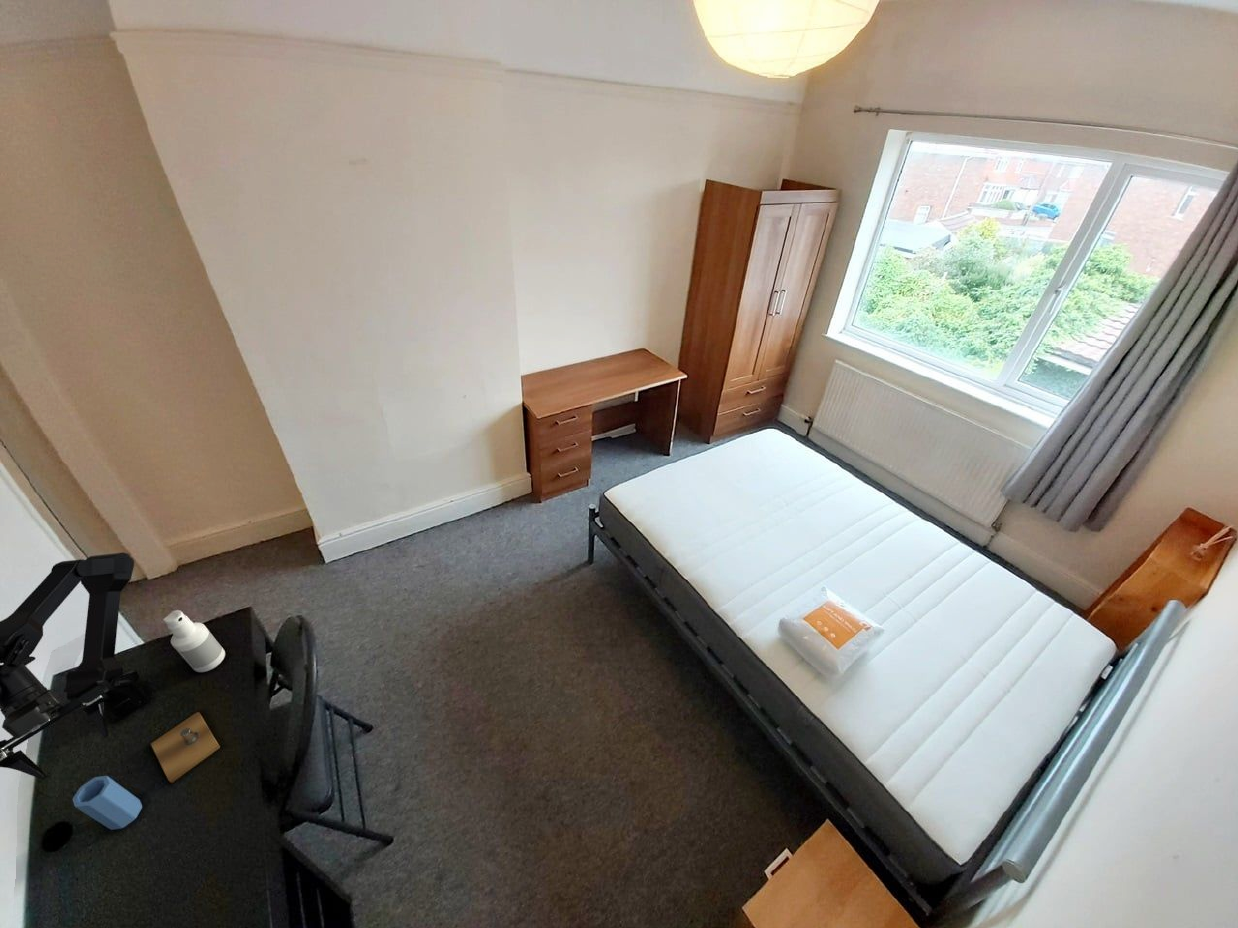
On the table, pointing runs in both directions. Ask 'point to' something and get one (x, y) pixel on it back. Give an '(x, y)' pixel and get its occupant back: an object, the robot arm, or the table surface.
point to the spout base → (184, 746)
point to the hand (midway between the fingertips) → (76, 756)
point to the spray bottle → (194, 642)
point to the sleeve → (107, 802)
